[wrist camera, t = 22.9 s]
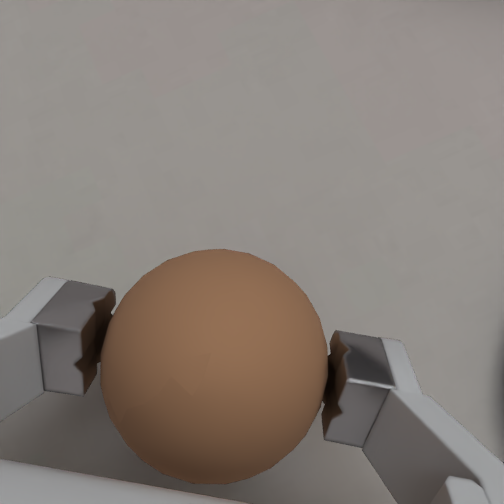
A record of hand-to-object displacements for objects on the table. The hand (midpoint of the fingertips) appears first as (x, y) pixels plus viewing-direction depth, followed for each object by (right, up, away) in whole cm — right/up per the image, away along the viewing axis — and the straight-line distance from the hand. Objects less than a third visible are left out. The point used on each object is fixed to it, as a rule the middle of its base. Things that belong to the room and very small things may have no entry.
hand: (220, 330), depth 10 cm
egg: (0, -2, +4) cm, 5 cm away
